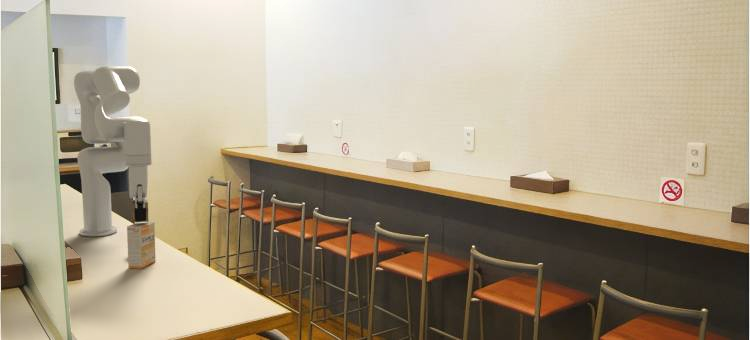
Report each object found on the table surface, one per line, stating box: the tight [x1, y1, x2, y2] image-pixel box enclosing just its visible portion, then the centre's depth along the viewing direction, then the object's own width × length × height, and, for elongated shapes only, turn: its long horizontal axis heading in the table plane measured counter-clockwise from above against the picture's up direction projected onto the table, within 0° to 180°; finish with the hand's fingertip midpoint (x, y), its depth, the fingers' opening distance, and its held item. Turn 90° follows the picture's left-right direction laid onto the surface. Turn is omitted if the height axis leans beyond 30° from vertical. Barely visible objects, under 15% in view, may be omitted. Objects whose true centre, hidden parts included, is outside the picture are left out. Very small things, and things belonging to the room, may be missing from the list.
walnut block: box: [131, 198, 150, 223], centre depth 196 cm, size 4×4×6 cm
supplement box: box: [126, 220, 156, 270], centre depth 197 cm, size 8×5×13 cm, turn 168°
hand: (140, 218), depth 196 cm, fingers closed on walnut block, 4 cm apart
